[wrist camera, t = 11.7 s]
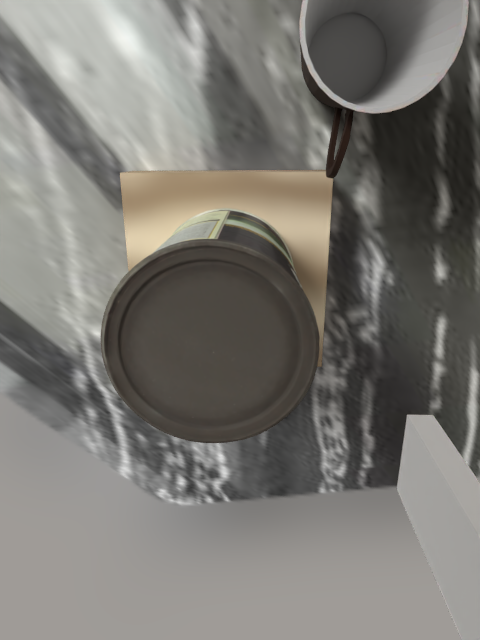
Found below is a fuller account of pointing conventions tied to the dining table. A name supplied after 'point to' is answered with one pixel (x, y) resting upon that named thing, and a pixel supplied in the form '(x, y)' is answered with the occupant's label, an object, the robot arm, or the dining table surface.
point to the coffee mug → (376, 55)
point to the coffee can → (212, 331)
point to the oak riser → (243, 194)
